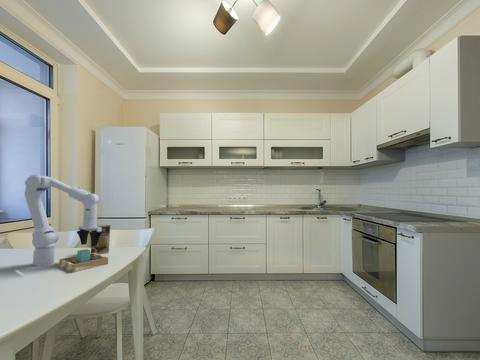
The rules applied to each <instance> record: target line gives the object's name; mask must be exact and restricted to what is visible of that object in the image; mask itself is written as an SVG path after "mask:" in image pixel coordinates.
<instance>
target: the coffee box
mask: <svg viewBox="0 0 480 360" xmlns="http://www.w3.org/2000/svg"><path fill="white" fill-rule="evenodd" d="M97 226H98V227H102V234H101V236H100V237H99V240H98V243H97V246H92V245H91V244H90V253H96V254H99V255H103V254H110V239H111V238H110V237H111V235H110V234H111V224H110V225H109V224H108V225H107V224H105V225H97ZM91 232H93V231H91Z"/></svg>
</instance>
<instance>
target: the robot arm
mask: <svg viewBox="0 0 480 360" xmlns="http://www.w3.org/2000/svg"><path fill="white" fill-rule="evenodd" d="M28 176H29V175H28ZM24 185H25V191H24V198H25V201H26V204H27V208H28V210H29V211H28V212H29V214H30V216H31V219H32V224H33V226H34V231H33V232H32V234H31V236H32V242H31V243H32V246H33V247H34V250H33V254H32V255H33V256H32V257H33V258H32V263H30V266H35V267H44V266H50V265H53V264H54V263H55V249H56V243H57V242H58V240H59V235H58V233H57V232H56V231H55V228H54V227H52V226H51V225H50V222H49V220H48V217H47V214H46V210H45V207H44V204H43V200H42V197H41V196H42V194H43V193H44V192H46V191H47V190H49V189H50V188H55V189H57V190H60V191H62V192H65V193H67V194H68V197H69V198H72V199H73V200H76V201H79V202H81V203H82V205H83V220H82V225H78V227H77V231H76V234H77V235H78V238H79V239H80V244H81V245H82V246H85V245H87V242H88V239H89V238H88V237H89V236H90V240H91V241H90V242H91V244H90V246H91V245H92V246H97V243H98V240H99V237H100V236H101V234H102V227H98V226H99V225H98V223H97V221H98V204H99V203H100V201H101V199H100V196H99V195H98V194H97V193H91V191H89V190H88V191H87V190H85V189H82V188H83V187H81V186H73V187H72V186H70V185H68V184H67V183H64V182H62V181H60V180H58V179H56V178H54V177H51V176H48V175H38V174H32V175H30V176H29V177H27V178H26V179H25V181H24ZM92 231H93V232H92Z"/></svg>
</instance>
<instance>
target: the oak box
mask: <svg viewBox="0 0 480 360" xmlns="http://www.w3.org/2000/svg"><path fill="white" fill-rule="evenodd" d="M90 257H93V258H95V259H97V260H92V261H88V262H83V263H79V264H73V263H70V260H75V259H77V255H75V256H69V257H65V258H59V263H58V266H59V267H60V268H61V269H64V270H66V271H69V272H71V273H74V274H75V273H77V272H81V271H86V270H89V269H94V268H98V267H102V266H107V265H109V257H108V256H106V255H103V254H96V253H91V252H90Z"/></svg>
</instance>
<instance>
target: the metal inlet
mask: <svg viewBox="0 0 480 360" xmlns="http://www.w3.org/2000/svg"><path fill="white" fill-rule="evenodd" d="M92 260H97V259H95V258H93V257H90V260H89V261H92ZM85 262H88V261H85ZM70 263H73V264H79V263H83V262H78V261H77V259H75V260H70Z"/></svg>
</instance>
